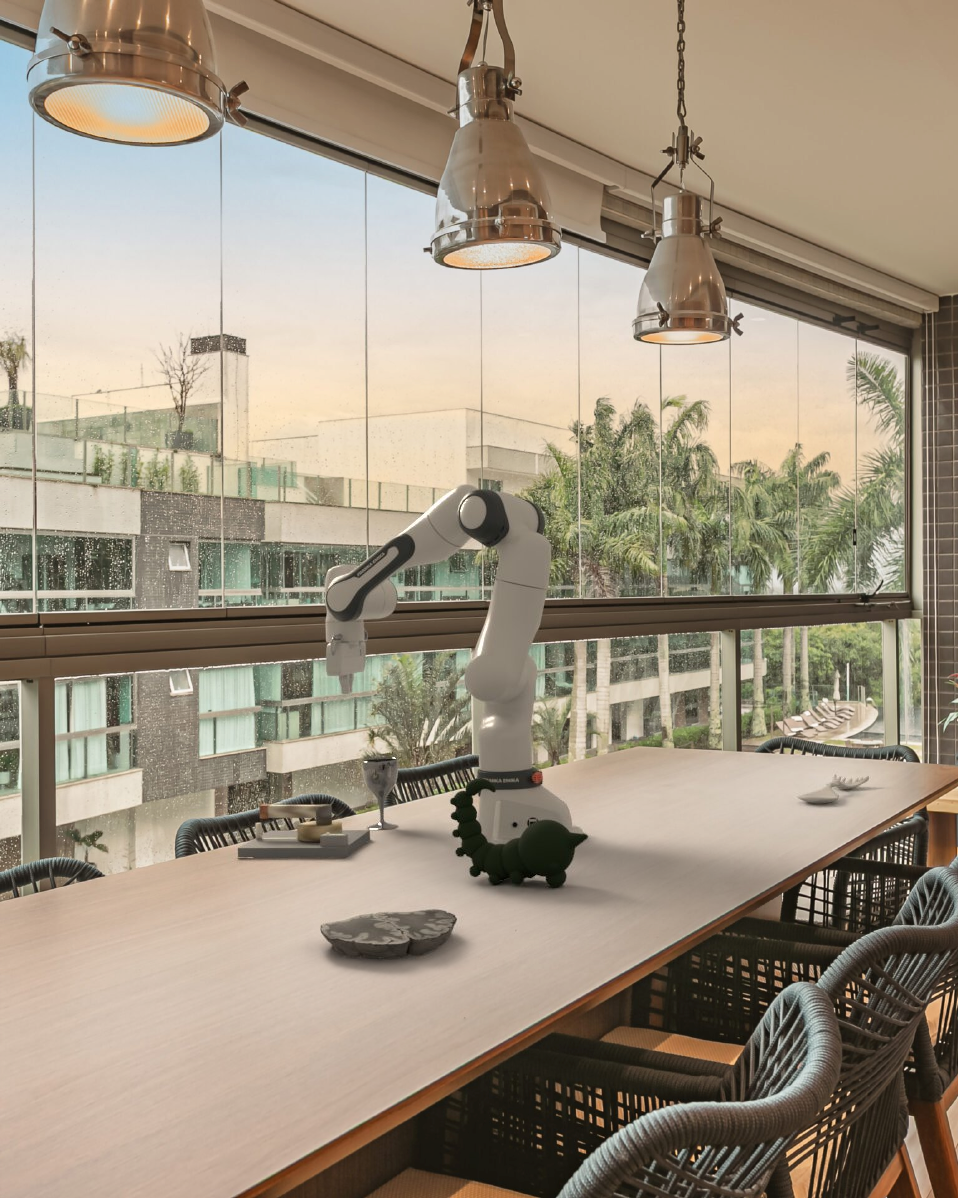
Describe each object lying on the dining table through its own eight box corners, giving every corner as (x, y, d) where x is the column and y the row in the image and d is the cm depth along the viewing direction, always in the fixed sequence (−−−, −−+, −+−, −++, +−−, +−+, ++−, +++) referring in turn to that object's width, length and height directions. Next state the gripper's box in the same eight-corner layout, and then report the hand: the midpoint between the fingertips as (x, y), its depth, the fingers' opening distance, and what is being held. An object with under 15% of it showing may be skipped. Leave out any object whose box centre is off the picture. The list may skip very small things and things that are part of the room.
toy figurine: (450, 894, 194) (582, 893, 182) (437, 783, 196) (567, 775, 183) (477, 881, 203) (605, 880, 191) (464, 776, 204) (591, 768, 192)
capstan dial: (348, 833, 233) (347, 801, 233) (332, 842, 224) (331, 809, 224) (272, 832, 237) (270, 801, 237) (253, 841, 228) (252, 808, 228)
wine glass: (394, 830, 246) (392, 761, 246) (359, 830, 248) (357, 762, 248) (404, 823, 254) (402, 757, 254) (370, 823, 255) (368, 757, 256)
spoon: (871, 788, 280) (870, 774, 280) (830, 809, 254) (829, 793, 254) (834, 786, 285) (834, 772, 285) (791, 806, 259) (790, 791, 259)
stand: (370, 839, 237) (369, 814, 237) (345, 858, 219) (344, 831, 219) (270, 840, 240) (269, 815, 240) (238, 858, 223) (237, 831, 223)
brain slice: (346, 975, 147) (345, 952, 147) (310, 943, 162) (309, 922, 162) (483, 952, 155) (482, 931, 155) (436, 923, 170) (436, 904, 171)
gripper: (345, 634, 252) (347, 696, 252) (369, 633, 272) (371, 690, 272) (318, 635, 253) (320, 697, 253) (344, 633, 273) (346, 691, 273)
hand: (346, 693), depth 263 cm, fingers closed
